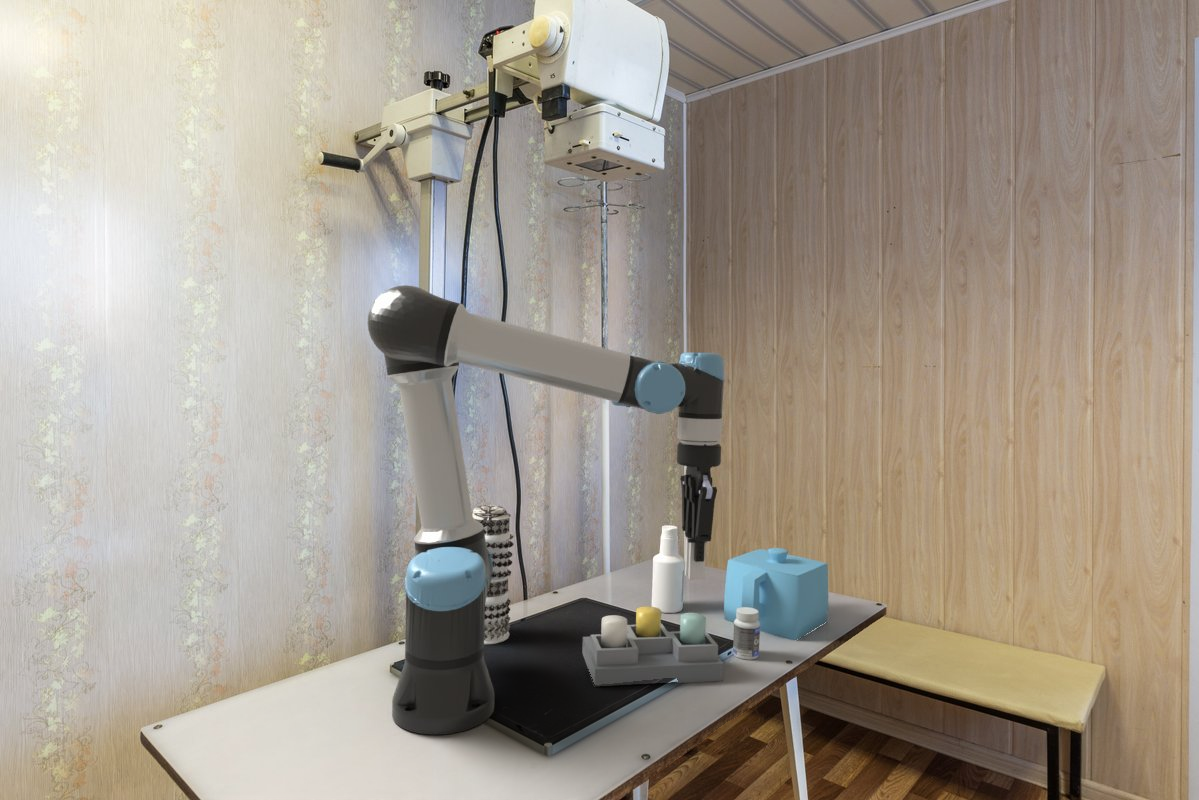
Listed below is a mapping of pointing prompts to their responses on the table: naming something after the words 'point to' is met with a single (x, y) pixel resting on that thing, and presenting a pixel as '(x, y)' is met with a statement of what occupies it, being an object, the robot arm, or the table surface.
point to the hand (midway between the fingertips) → (694, 576)
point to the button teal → (692, 628)
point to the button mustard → (648, 621)
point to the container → (778, 591)
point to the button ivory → (614, 631)
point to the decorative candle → (496, 571)
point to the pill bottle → (746, 633)
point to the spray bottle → (668, 573)
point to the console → (652, 659)
